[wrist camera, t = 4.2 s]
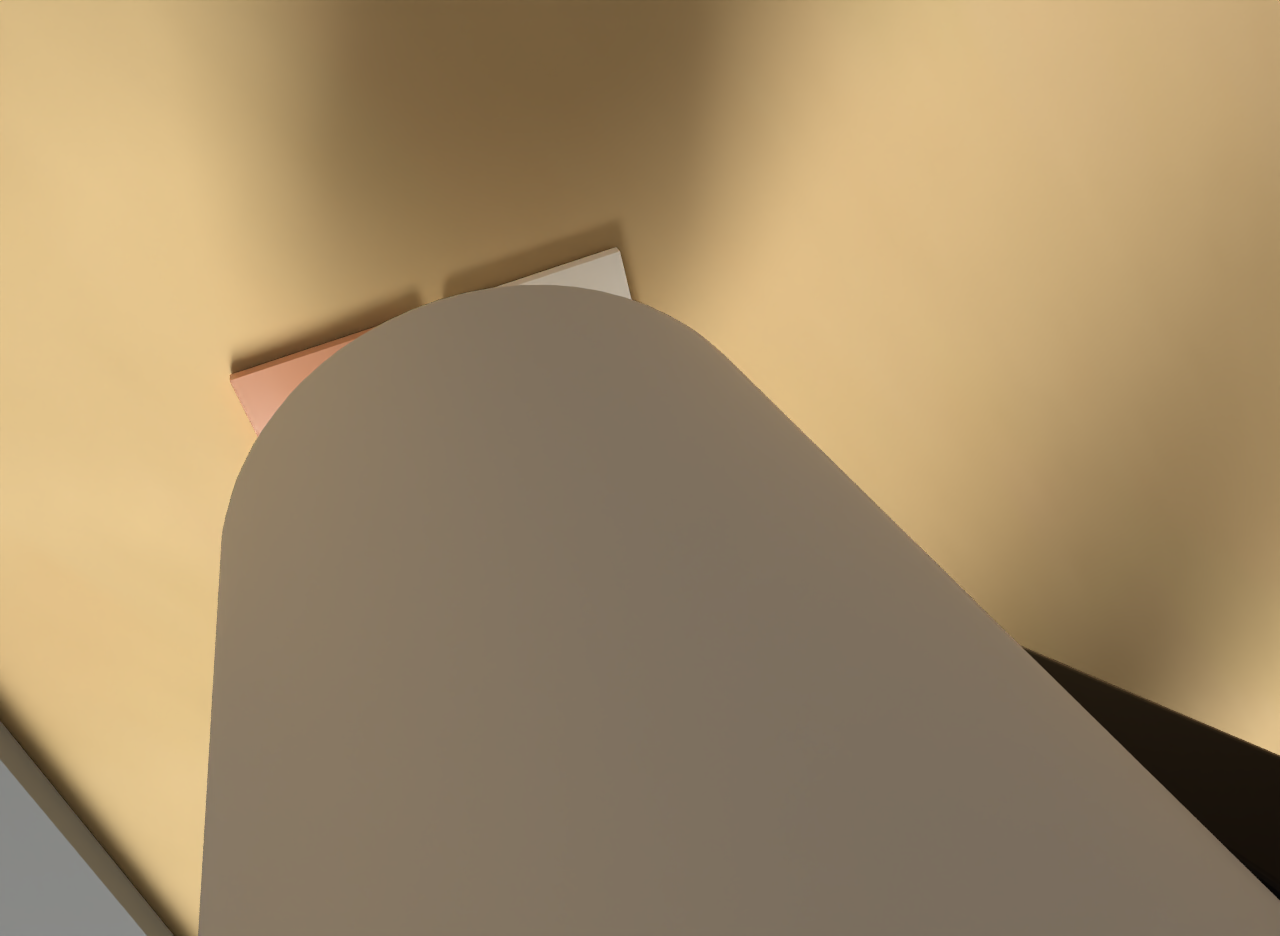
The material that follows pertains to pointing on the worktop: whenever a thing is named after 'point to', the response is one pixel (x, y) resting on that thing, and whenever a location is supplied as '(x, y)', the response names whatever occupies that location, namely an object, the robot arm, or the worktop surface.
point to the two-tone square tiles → (280, 377)
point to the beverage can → (635, 672)
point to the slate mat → (58, 864)
